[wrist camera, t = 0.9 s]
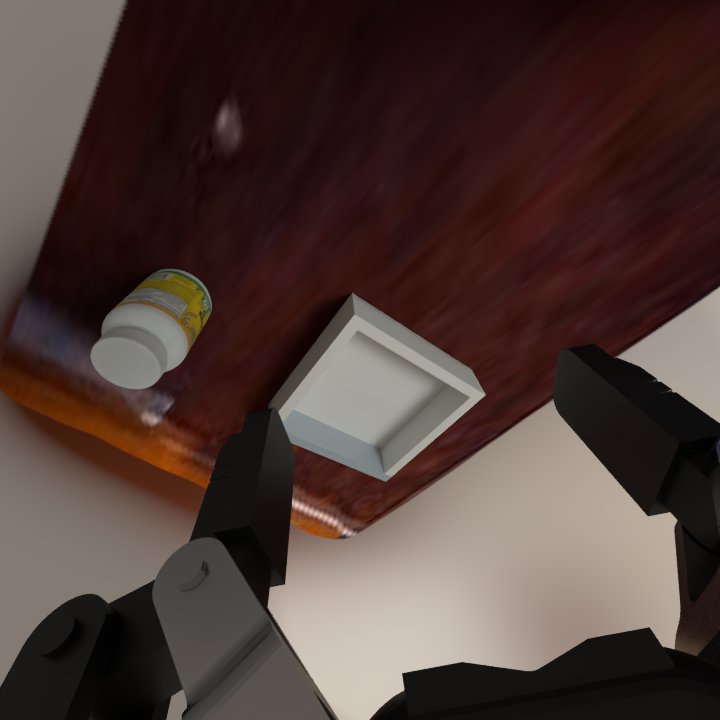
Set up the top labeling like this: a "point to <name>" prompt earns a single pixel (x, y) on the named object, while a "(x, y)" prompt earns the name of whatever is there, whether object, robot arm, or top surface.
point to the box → (373, 392)
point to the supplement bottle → (151, 329)
